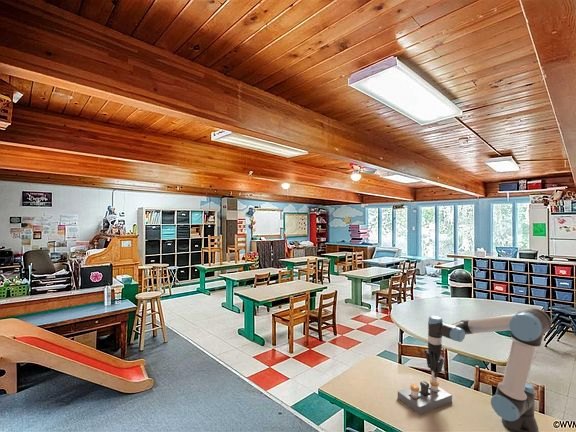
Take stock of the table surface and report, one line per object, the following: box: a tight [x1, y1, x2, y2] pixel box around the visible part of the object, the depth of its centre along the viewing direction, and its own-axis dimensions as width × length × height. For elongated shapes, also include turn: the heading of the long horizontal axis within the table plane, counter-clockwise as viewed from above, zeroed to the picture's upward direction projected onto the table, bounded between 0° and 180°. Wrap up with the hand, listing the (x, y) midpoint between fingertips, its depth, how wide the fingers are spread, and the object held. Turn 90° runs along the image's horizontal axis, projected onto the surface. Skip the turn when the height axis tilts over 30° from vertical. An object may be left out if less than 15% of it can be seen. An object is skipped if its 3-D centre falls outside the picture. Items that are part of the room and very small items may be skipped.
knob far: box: [429, 379, 440, 393], centre depth 181 cm, size 5×5×7 cm
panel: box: [397, 380, 453, 415], centre depth 178 cm, size 16×26×4 cm, turn 115°
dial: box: [419, 380, 429, 396], centre depth 178 cm, size 5×5×7 cm
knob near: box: [409, 384, 419, 400], centre depth 175 cm, size 5×5×7 cm
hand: (434, 381), depth 182 cm, fingers closed
